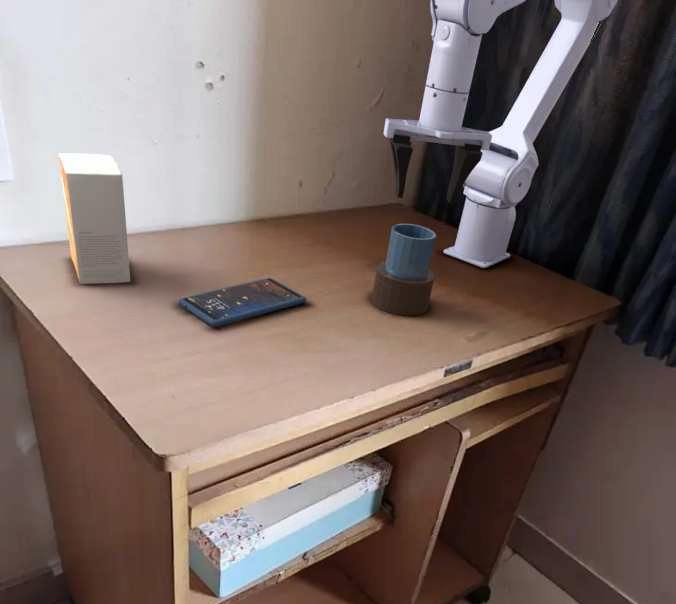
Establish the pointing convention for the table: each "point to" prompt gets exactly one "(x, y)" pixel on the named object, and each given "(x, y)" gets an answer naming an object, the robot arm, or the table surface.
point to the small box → (95, 217)
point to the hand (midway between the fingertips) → (424, 198)
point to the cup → (409, 251)
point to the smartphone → (241, 301)
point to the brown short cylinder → (401, 293)
